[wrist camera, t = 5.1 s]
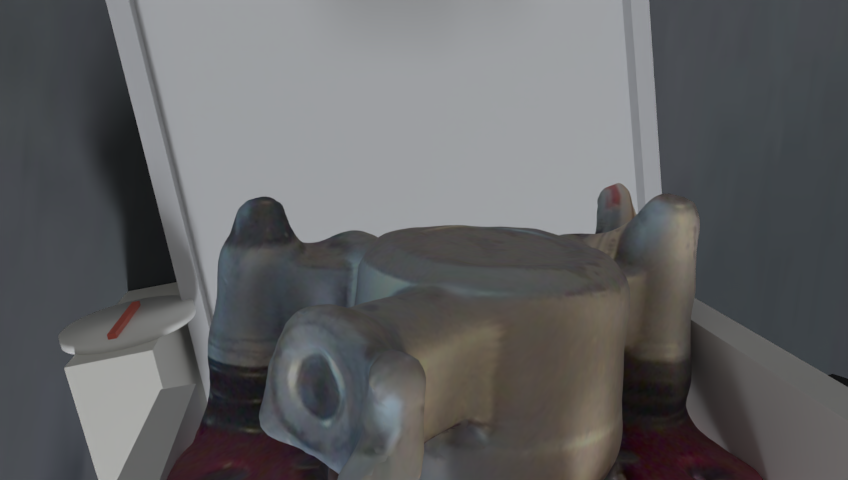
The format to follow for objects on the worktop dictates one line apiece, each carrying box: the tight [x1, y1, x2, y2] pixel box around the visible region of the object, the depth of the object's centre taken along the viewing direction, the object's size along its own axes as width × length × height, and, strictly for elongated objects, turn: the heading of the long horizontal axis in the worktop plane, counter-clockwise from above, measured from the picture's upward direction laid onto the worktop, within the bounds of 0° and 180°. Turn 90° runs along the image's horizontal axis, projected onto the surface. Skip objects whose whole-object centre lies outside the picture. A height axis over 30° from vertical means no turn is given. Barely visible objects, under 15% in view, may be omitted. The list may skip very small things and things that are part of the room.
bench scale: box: [59, 0, 662, 480], centre depth 29 cm, size 26×22×9 cm
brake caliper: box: [167, 183, 763, 480], centre depth 14 cm, size 11×11×12 cm
